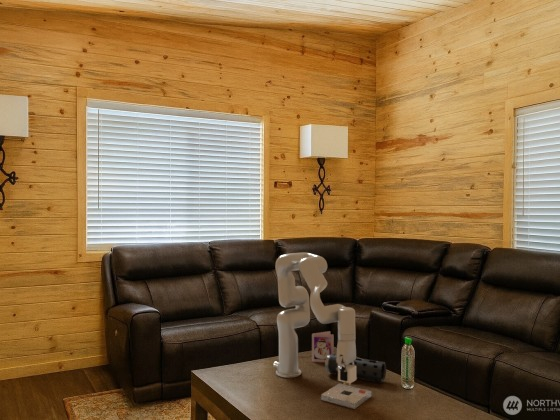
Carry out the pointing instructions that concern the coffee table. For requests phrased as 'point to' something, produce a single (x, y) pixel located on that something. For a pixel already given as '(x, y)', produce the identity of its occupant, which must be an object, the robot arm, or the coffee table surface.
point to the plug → (348, 373)
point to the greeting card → (322, 346)
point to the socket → (346, 396)
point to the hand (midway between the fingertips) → (347, 377)
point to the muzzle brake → (360, 368)
